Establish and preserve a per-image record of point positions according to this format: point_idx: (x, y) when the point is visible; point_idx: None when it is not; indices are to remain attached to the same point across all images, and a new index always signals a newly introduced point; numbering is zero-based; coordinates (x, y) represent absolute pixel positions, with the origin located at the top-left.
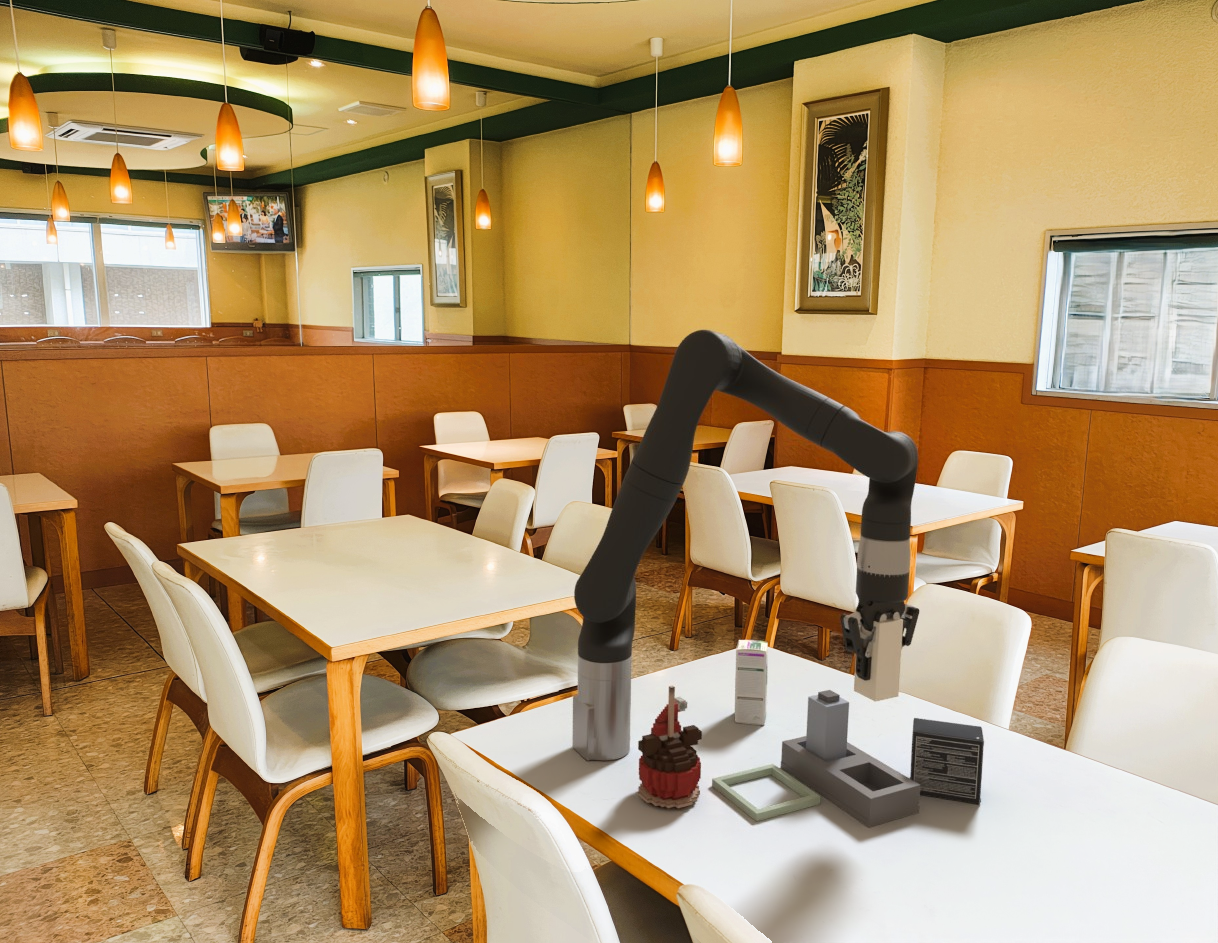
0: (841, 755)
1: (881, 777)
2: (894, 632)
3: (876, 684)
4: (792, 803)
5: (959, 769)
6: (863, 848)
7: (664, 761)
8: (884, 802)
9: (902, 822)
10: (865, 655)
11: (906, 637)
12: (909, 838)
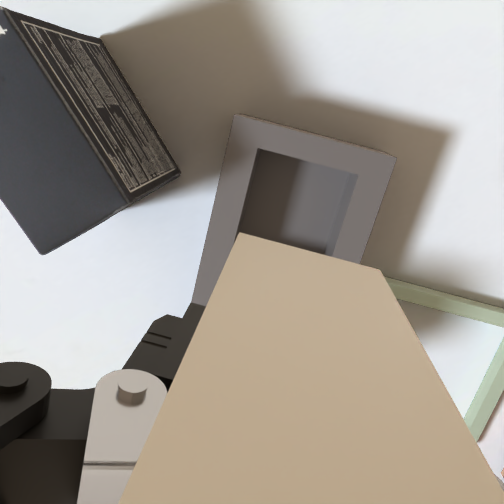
0: None
1: (241, 217)
2: None
3: (395, 304)
4: (445, 300)
5: (94, 77)
6: (471, 110)
7: None
8: (349, 144)
9: (307, 115)
10: (501, 483)
11: (2, 427)
12: (358, 65)
